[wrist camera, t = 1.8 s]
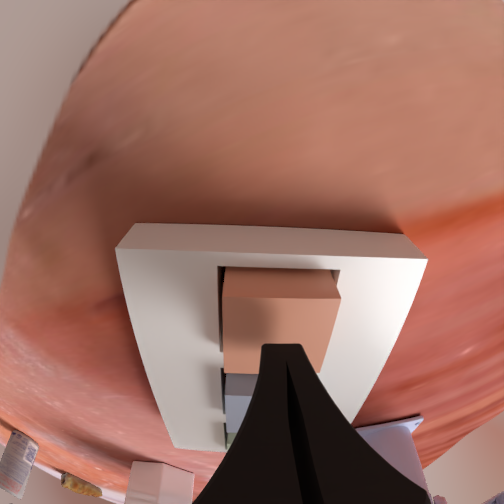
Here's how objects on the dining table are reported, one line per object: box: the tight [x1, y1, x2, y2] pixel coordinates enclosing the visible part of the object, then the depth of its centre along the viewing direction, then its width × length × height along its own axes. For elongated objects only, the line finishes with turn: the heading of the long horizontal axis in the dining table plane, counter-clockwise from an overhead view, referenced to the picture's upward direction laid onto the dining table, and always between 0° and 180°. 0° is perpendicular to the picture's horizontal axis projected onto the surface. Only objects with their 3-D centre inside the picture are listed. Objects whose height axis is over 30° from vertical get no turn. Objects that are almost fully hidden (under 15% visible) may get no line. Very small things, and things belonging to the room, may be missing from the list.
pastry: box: [61, 473, 102, 497], centre depth 38 cm, size 9×7×4 cm
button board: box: [115, 223, 428, 452], centre depth 16 cm, size 18×13×2 cm
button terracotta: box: [222, 266, 341, 374], centre depth 12 cm, size 4×4×3 cm
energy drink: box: [0, 430, 39, 499], centre depth 25 cm, size 5×5×12 cm
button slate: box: [225, 373, 258, 433], centre depth 15 cm, size 4×4×3 cm
